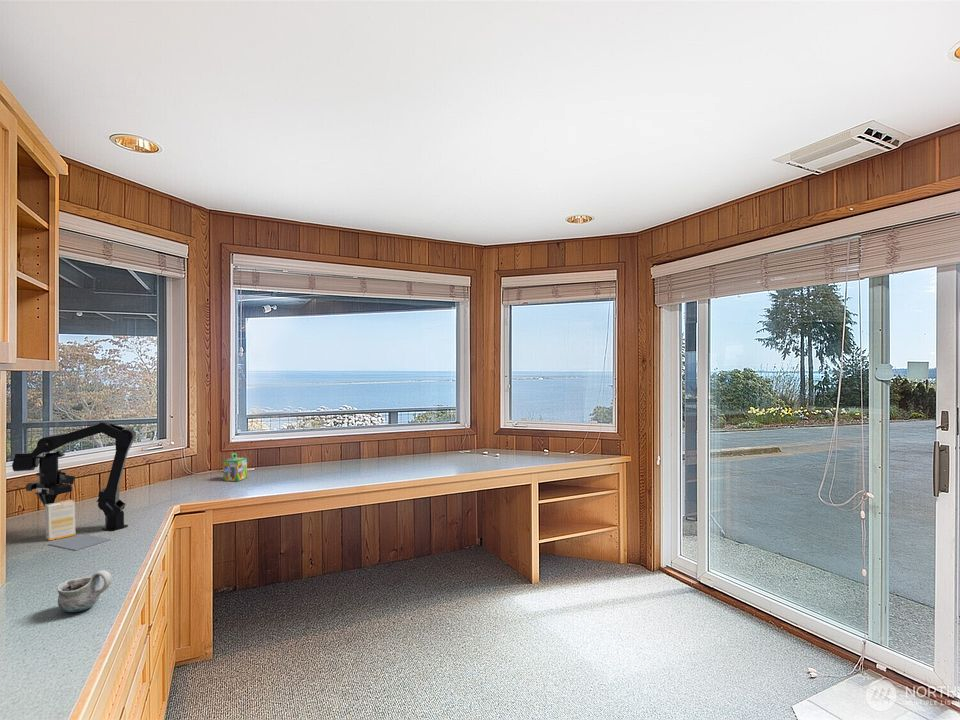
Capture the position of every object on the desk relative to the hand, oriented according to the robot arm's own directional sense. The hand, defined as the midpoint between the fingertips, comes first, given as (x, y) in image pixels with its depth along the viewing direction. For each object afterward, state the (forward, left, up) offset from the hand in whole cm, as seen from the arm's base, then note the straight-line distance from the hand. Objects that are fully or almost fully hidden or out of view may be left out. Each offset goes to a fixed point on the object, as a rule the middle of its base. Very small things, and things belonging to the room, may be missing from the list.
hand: (49, 510), depth 206 cm
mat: (-20, +1, -9) cm, 22 cm away
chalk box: (+9, -97, -10) cm, 98 cm away
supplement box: (-7, 0, -10) cm, 12 cm away
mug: (-77, +34, -10) cm, 85 cm away
